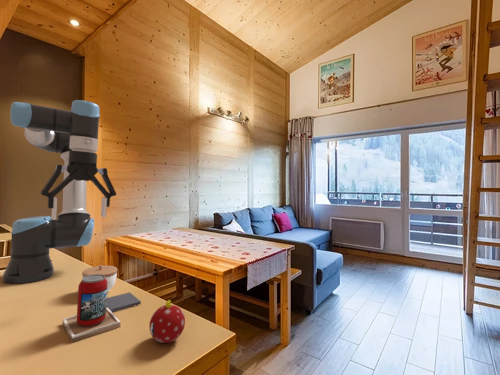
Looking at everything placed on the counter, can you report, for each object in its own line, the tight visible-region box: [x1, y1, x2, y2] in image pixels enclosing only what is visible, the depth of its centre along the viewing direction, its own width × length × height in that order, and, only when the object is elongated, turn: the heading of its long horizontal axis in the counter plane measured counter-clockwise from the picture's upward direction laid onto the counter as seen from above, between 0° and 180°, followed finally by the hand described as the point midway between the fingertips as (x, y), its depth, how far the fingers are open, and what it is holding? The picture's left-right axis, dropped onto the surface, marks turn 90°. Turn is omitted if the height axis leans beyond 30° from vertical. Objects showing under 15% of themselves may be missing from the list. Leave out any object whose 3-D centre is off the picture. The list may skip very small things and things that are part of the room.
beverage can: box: [76, 274, 108, 327], centre depth 71 cm, size 7×7×12 cm
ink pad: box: [106, 292, 141, 313], centre depth 84 cm, size 9×9×1 cm
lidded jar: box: [81, 264, 118, 293], centre depth 92 cm, size 11×11×9 cm
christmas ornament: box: [148, 299, 186, 344], centre depth 66 cm, size 9×9×10 cm
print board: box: [62, 307, 121, 343], centre depth 71 cm, size 11×11×1 cm
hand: (80, 217), depth 83 cm, fingers open, 13 cm apart
